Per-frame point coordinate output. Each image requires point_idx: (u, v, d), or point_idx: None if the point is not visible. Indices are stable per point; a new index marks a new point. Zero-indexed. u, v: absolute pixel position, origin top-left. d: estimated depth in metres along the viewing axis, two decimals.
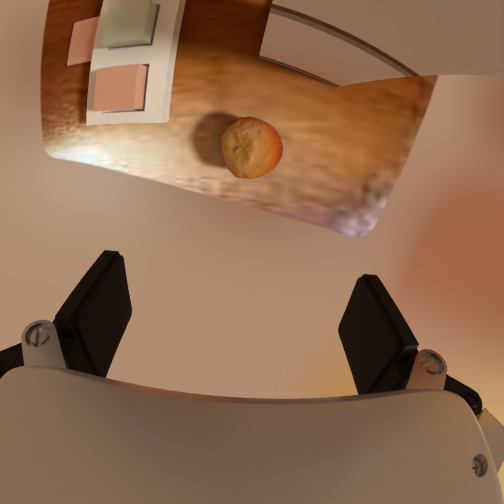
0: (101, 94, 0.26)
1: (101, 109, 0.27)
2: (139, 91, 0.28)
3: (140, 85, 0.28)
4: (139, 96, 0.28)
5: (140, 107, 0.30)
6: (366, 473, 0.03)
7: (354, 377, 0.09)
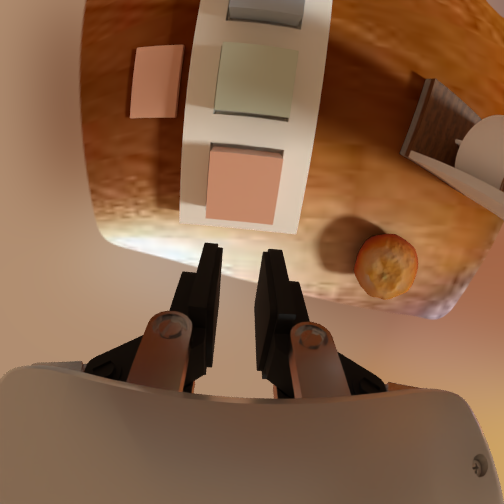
0: (220, 195, 0.23)
1: (219, 217, 0.24)
2: None
3: None
4: None
5: None
6: (366, 473, 0.03)
7: (256, 351, 0.10)
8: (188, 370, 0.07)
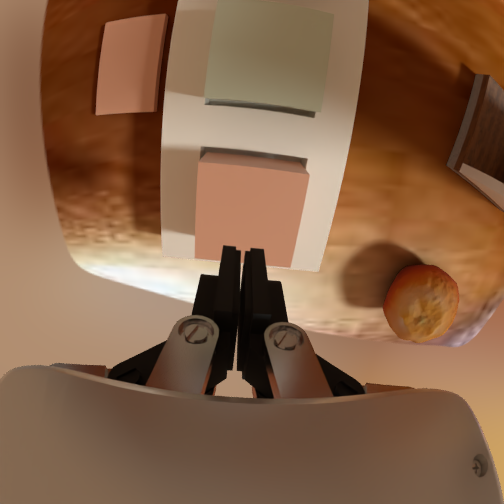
0: (214, 227, 0.16)
1: (214, 257, 0.17)
2: None
3: None
4: None
5: None
6: (366, 473, 0.03)
7: (237, 351, 0.10)
8: (210, 376, 0.07)
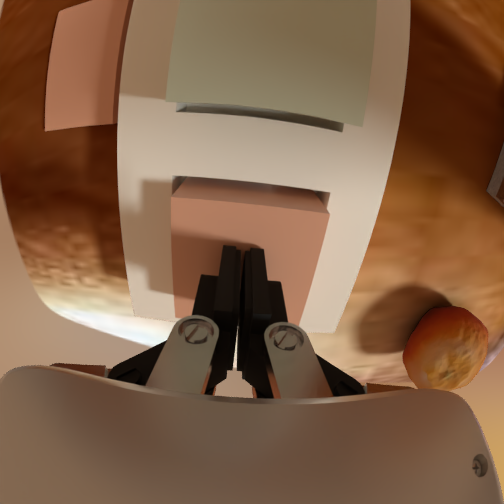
0: (198, 283, 0.12)
1: None
2: None
3: None
4: None
5: None
6: (366, 473, 0.03)
7: (237, 351, 0.10)
8: (210, 376, 0.07)
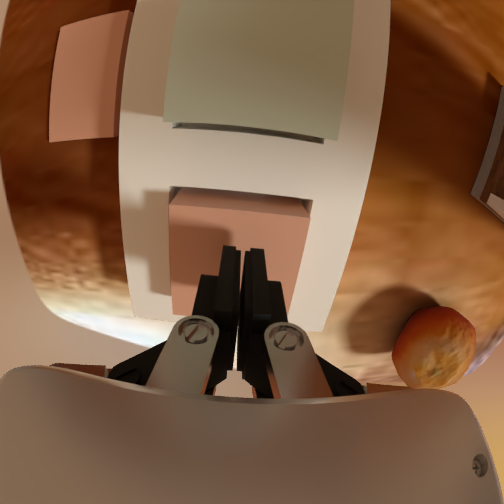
0: (193, 282, 0.13)
1: None
2: None
3: None
4: None
5: None
6: (366, 473, 0.03)
7: (237, 351, 0.10)
8: (211, 376, 0.07)
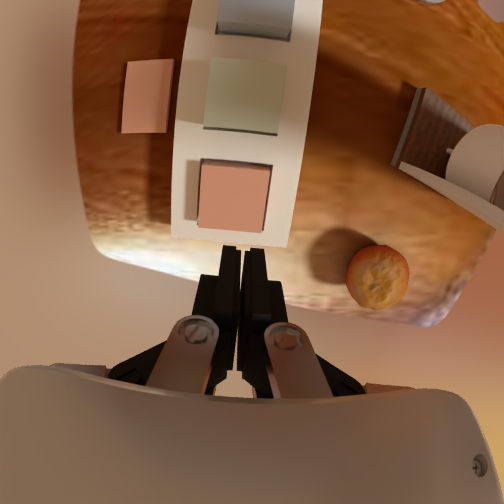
0: (211, 206, 0.25)
1: (211, 226, 0.26)
2: None
3: None
4: None
5: None
6: (366, 473, 0.03)
7: (237, 351, 0.10)
8: (211, 376, 0.07)
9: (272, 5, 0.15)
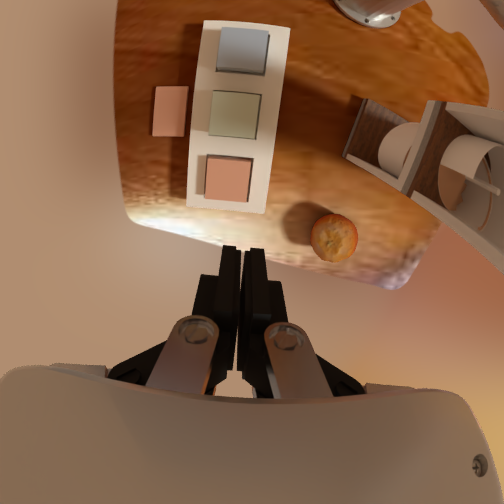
0: (213, 184, 0.38)
1: (213, 198, 0.39)
2: None
3: None
4: None
5: None
6: (366, 473, 0.03)
7: (237, 351, 0.10)
8: (210, 376, 0.07)
9: (251, 54, 0.28)
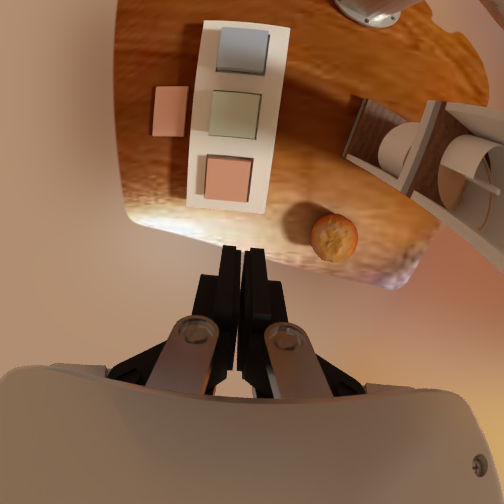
0: (213, 184, 0.38)
1: (213, 198, 0.39)
2: None
3: None
4: None
5: None
6: (366, 473, 0.03)
7: (237, 351, 0.10)
8: (210, 376, 0.07)
9: (251, 54, 0.28)
